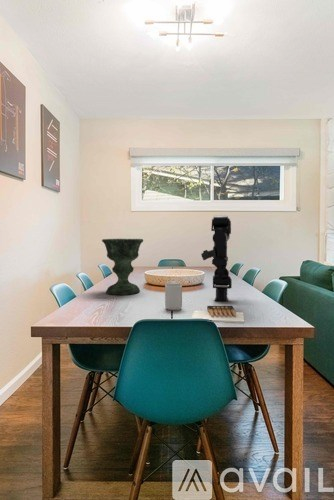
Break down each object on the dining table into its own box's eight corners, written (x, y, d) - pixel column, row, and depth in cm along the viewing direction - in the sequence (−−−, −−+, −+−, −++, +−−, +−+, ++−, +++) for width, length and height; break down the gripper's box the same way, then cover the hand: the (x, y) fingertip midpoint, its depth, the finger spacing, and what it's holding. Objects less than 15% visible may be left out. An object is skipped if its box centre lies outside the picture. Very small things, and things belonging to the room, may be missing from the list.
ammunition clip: (207, 309, 142) (210, 318, 130) (207, 305, 141) (210, 313, 129) (232, 310, 141) (237, 318, 130) (232, 305, 141) (238, 313, 129)
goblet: (100, 290, 193) (100, 238, 192) (138, 288, 200) (138, 238, 198) (105, 297, 172) (104, 239, 171) (147, 294, 179) (147, 239, 178)
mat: (195, 311, 142) (195, 310, 142) (243, 313, 138) (243, 312, 138) (190, 320, 128) (190, 318, 128) (243, 323, 124) (243, 321, 124)
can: (166, 311, 143) (166, 283, 142) (163, 307, 150) (163, 281, 149) (183, 310, 144) (183, 283, 143) (179, 306, 151) (179, 280, 151)
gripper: (204, 243, 159) (204, 275, 160) (200, 244, 141) (200, 281, 142) (228, 243, 157) (227, 276, 157) (226, 244, 138) (226, 282, 139)
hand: (220, 278), depth 149 cm, fingers closed
